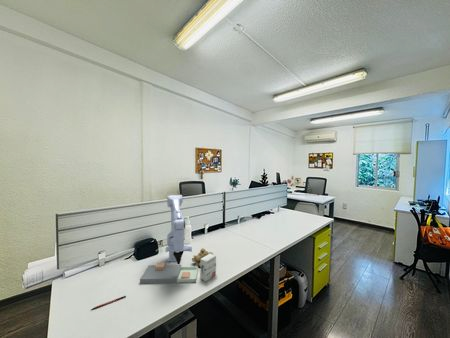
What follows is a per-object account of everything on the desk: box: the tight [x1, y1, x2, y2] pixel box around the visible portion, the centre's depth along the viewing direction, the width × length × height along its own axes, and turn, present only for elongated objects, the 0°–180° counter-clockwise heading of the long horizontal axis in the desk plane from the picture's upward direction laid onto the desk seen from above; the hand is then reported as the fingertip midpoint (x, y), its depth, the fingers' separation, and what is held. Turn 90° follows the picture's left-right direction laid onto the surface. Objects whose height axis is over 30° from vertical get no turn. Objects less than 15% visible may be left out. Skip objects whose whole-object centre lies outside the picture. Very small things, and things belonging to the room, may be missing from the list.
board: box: [139, 264, 182, 285], centre depth 104 cm, size 13×20×2 cm, turn 93°
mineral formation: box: [191, 247, 214, 267], centre depth 116 cm, size 8×13×15 cm
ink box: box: [199, 252, 217, 282], centre depth 103 cm, size 9×5×12 cm, turn 141°
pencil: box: [90, 295, 127, 311], centre depth 83 cm, size 1×14×1 cm, turn 127°
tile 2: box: [181, 272, 190, 279], centre depth 101 cm, size 4×4×2 cm
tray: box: [176, 265, 199, 284], centre depth 104 cm, size 12×10×2 cm
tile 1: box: [155, 262, 166, 270], centre depth 107 cm, size 4×4×2 cm
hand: (178, 263), depth 101 cm, fingers closed
